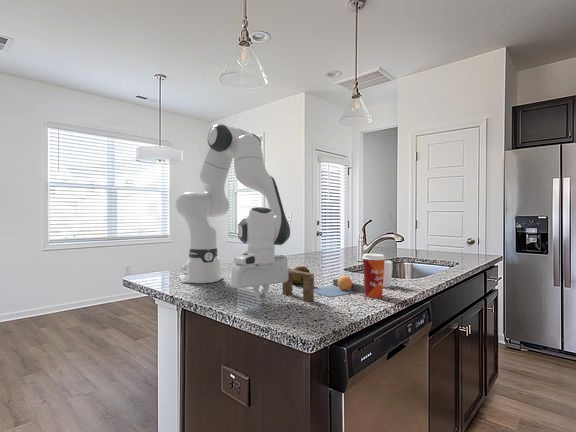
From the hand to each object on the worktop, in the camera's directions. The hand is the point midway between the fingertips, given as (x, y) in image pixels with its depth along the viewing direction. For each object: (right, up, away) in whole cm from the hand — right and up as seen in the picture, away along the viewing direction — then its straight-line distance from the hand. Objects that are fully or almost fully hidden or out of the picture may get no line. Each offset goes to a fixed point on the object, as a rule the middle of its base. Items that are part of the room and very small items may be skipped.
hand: (261, 298), depth 113 cm
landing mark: (+25, -2, +18) cm, 31 cm away
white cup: (+48, -2, +29) cm, 56 cm away
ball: (+31, +1, +20) cm, 37 cm away
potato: (+13, -2, +31) cm, 34 cm away
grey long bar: (+34, -2, +23) cm, 41 cm away
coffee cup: (+40, -2, +11) cm, 41 cm away
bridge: (+12, -2, +9) cm, 15 cm away
